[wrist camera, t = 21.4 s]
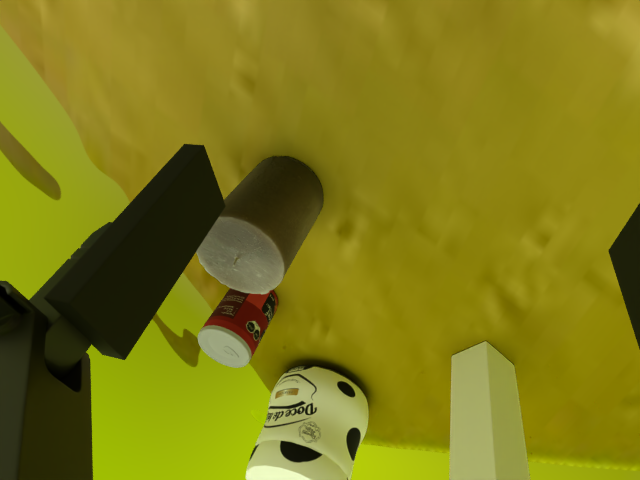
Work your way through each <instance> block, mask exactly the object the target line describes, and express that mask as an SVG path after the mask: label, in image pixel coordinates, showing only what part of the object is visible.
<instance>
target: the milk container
mask: <svg viewBox="0 0 640 480" xmlns="http://www.w3.org/2000/svg"><path fill="white" fill-rule="evenodd" d="M368 417H369V409H368V402H367V399H366V397H365V395H364V393H363V392H362V390H361V389H360V388H359V387H358V386H357V385H356V384H355V383H354V382H353V381H351V380H350V379H349V378H348V377H346V376H345V375H343V374H340V373H338V372H336V371H335V370H333V369H329V368H324V367H321V366H312V365H302V366H297V367H294V368H291V369H289V370H288V371H287V372H285V373H284V374H283V375H282V376H281V378H280V379H279V381H278V382H277V383H276V385H275V387H274V389H273V391H272V394H271V397H270V401H269V408H268V414H267V419H266V422H265V424H264V427H263V429H262V431H261V433H260V435H259V437H258V440H257V442H256V445H255V448H254V450H253V452H252V454H251V457H250V460H249V464H248V467H247V472H246V479H247V480H351V476H352V471H353V465H354V460H355V456H356V452H357V450H358V447H359V446H360V444H361V442H362V440H363V438H364V436H365V433H366V430H367V426H368Z"/></svg>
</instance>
